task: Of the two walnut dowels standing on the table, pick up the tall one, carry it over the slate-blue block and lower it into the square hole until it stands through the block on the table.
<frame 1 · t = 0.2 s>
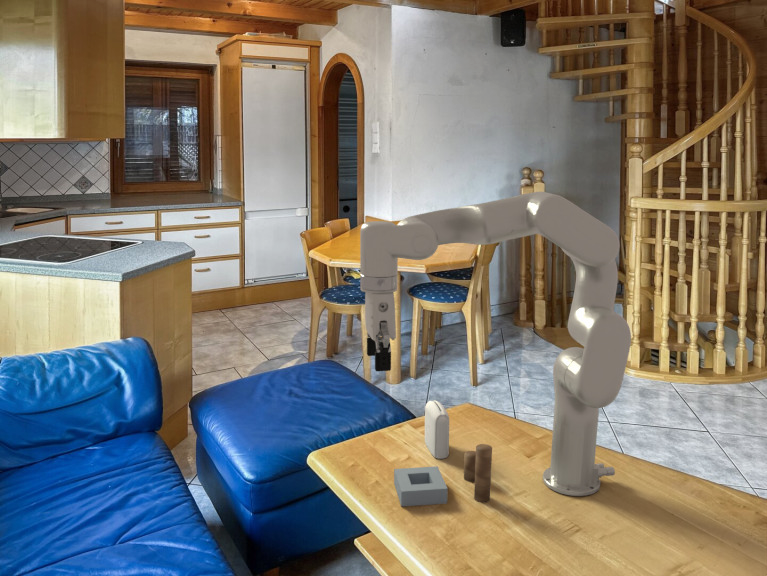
hand: (378, 362, 142), 31 cm above the table, tool pointing down, fingers open, 9 cm apart
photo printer: (436, 450, 171), on the table
short dowel: (471, 478, 157), on the table
hole block: (419, 492, 151), on the table
tall dowel: (482, 498, 149), on the table
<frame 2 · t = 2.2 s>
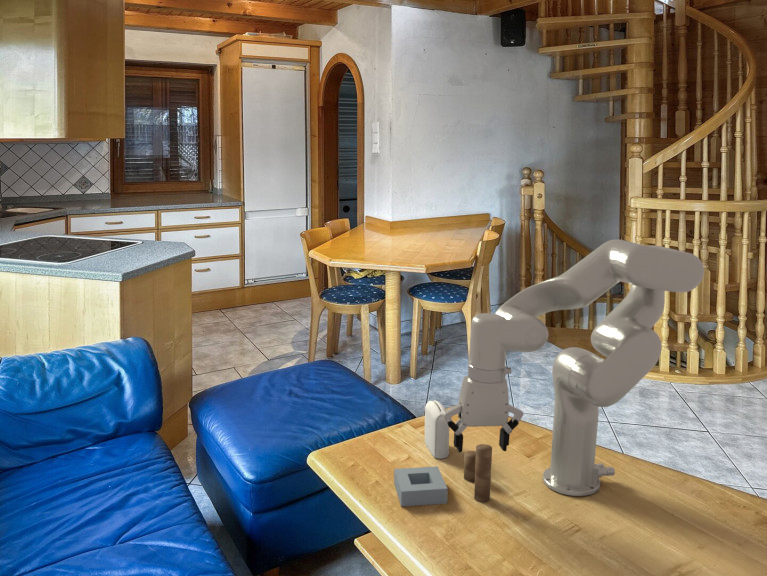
hand: (480, 449, 146), 12 cm above the table, tool pointing down, fingers open, 9 cm apart
nothing on the table moved.
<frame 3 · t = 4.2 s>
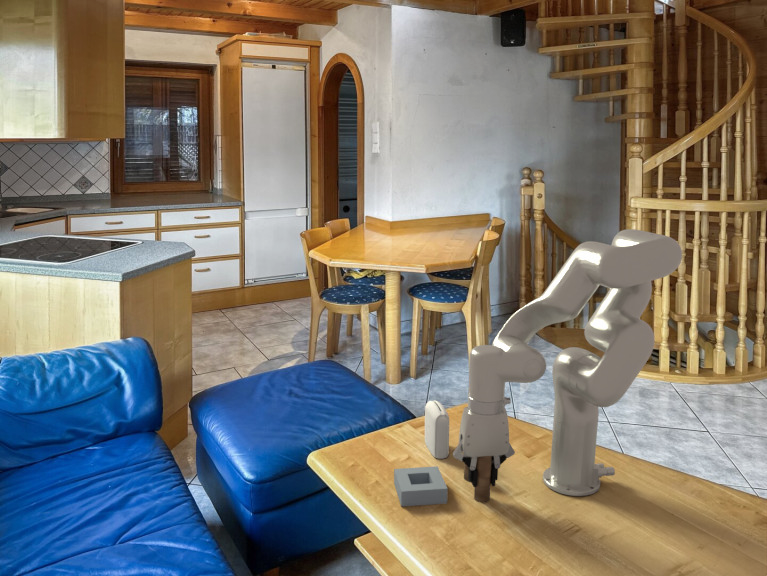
hand: (482, 482, 148), 4 cm above the table, tool pointing down, fingers closed on tall dowel, 3 cm apart
tall dowel: (482, 498, 148), on the table, touching gripper
everything else where it was.
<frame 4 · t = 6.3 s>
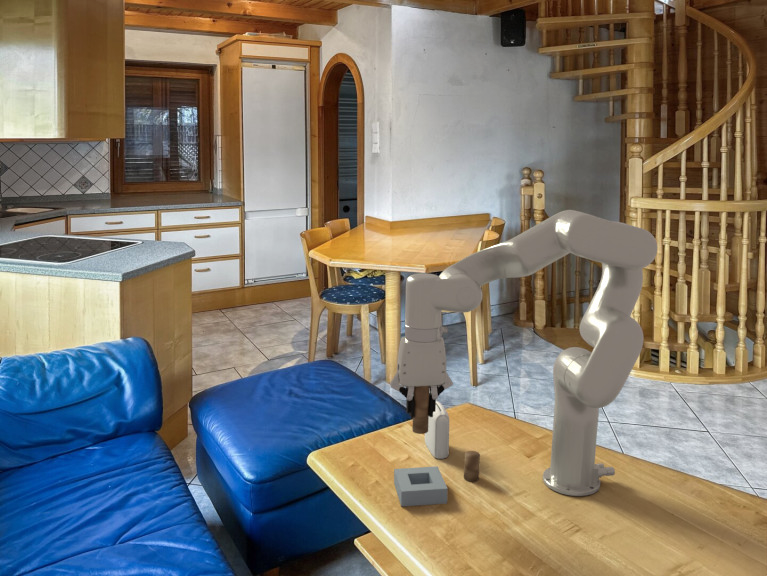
hand: (420, 414, 146), 19 cm above the table, tool pointing down, fingers closed on tall dowel, 3 cm apart
tall dowel: (420, 430, 147), point 15 cm above the table, touching gripper
everything else where it was.
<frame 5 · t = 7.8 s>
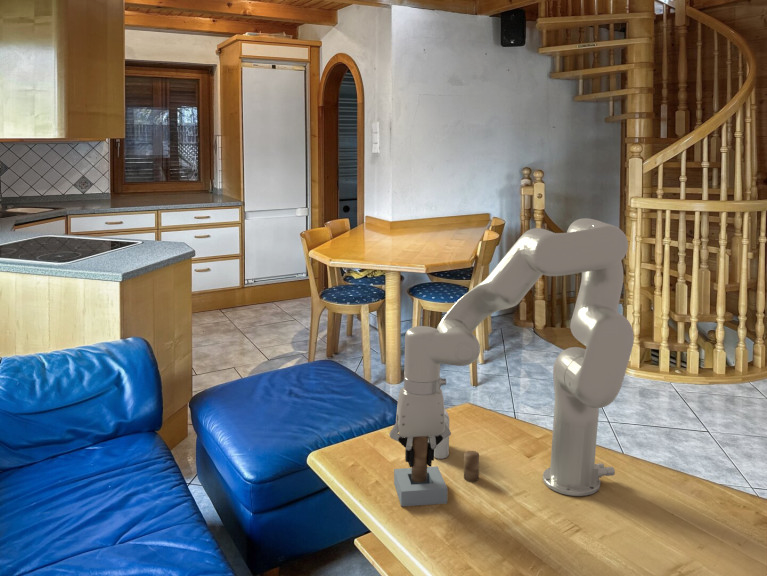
hand: (419, 463, 149), 7 cm above the table, tool pointing down, fingers closed on tall dowel, 3 cm apart
tall dowel: (419, 478, 150), point 3 cm above the table, touching gripper
everything else where it was.
when the fingers open (5 cm above the table, at t = 8.8 s): tall dowel drops 1 cm, resting in hole block.
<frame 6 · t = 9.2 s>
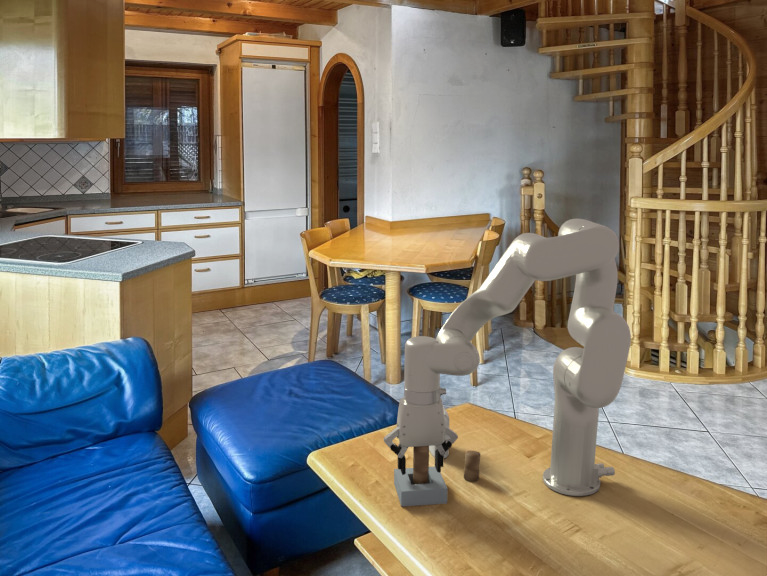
hand: (420, 470, 149), 6 cm above the table, tool pointing down, fingers open, 7 cm apart
tall dowel: (420, 493, 151), resting in hole block
everything else where it was.
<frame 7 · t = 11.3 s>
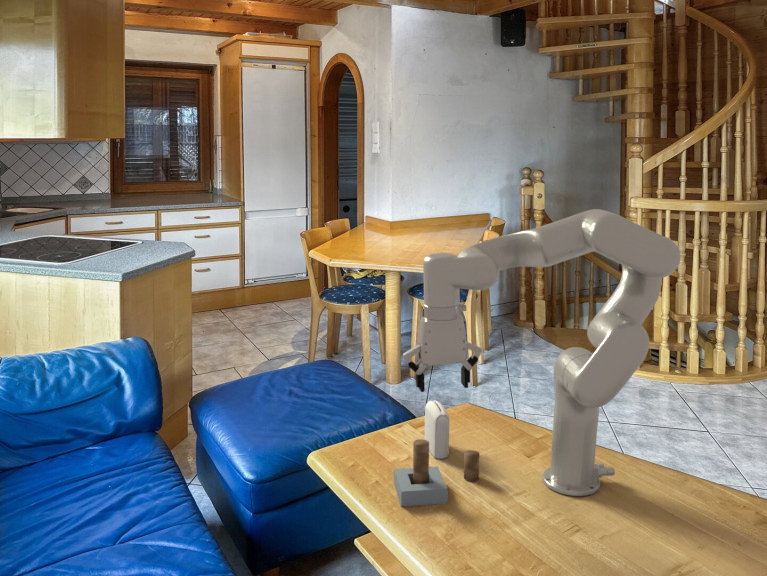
hand: (443, 387, 148), 23 cm above the table, tool pointing down, fingers open, 9 cm apart
nothing on the table moved.
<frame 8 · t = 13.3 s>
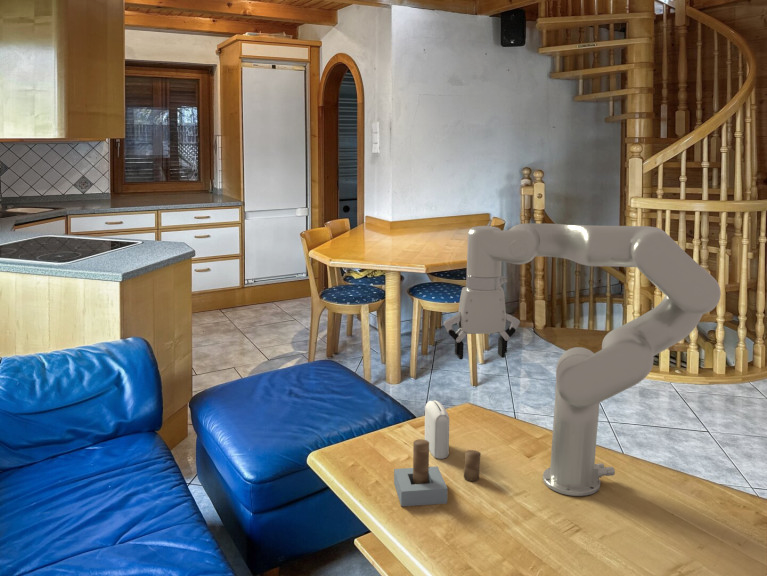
hand: (480, 356, 154), 28 cm above the table, tool pointing down, fingers open, 9 cm apart
nothing on the table moved.
at the end: tall dowel 0.1 cm off-centre on the hole block, point 0.0 cm above the hole block's base; tall dowel tilted 0°; short dowel moved 0.1 cm from its start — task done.
